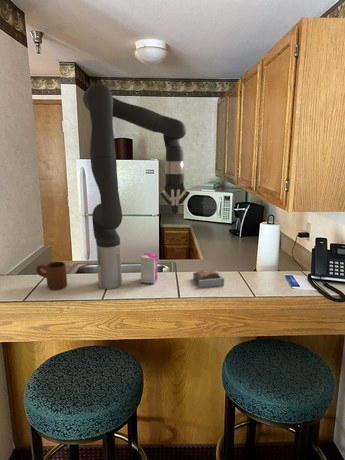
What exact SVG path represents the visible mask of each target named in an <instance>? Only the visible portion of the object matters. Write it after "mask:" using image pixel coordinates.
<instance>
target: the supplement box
mask: <svg viewBox="0 0 345 460" xmlns="http://www.w3.org/2000/svg"><path fill="white" fill-rule="evenodd" d="M157 280H158V254H157V253H149V252H148V253H147V252H145V253H143V255H141V257H140V284H144V285H155V283H156V281H157Z"/></svg>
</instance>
